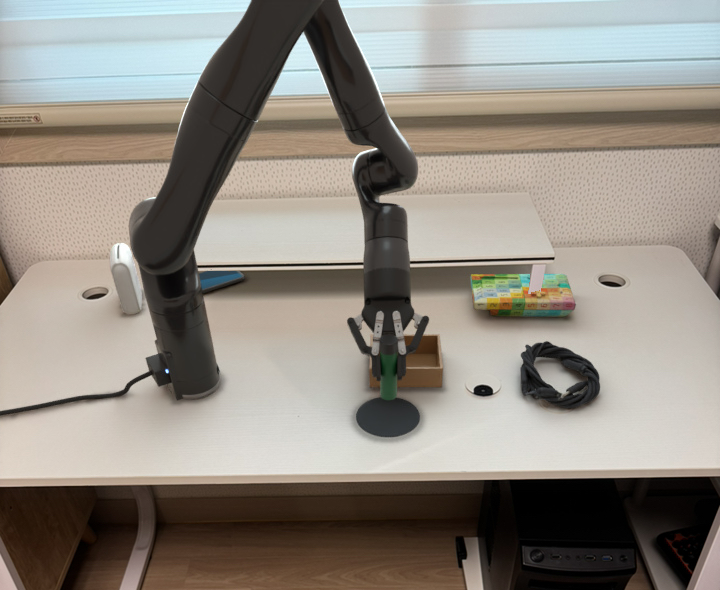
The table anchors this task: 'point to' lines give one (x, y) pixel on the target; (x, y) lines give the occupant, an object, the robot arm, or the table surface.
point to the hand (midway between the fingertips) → (389, 379)
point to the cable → (569, 360)
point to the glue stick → (388, 366)
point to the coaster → (388, 417)
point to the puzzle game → (522, 295)
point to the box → (419, 363)
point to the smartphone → (219, 279)
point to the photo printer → (125, 278)
